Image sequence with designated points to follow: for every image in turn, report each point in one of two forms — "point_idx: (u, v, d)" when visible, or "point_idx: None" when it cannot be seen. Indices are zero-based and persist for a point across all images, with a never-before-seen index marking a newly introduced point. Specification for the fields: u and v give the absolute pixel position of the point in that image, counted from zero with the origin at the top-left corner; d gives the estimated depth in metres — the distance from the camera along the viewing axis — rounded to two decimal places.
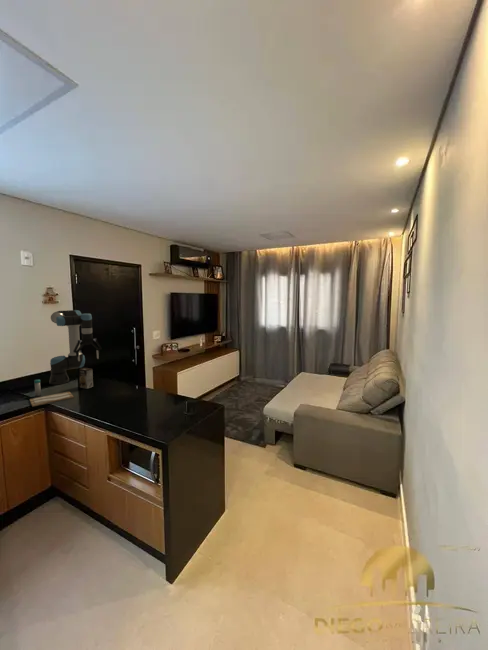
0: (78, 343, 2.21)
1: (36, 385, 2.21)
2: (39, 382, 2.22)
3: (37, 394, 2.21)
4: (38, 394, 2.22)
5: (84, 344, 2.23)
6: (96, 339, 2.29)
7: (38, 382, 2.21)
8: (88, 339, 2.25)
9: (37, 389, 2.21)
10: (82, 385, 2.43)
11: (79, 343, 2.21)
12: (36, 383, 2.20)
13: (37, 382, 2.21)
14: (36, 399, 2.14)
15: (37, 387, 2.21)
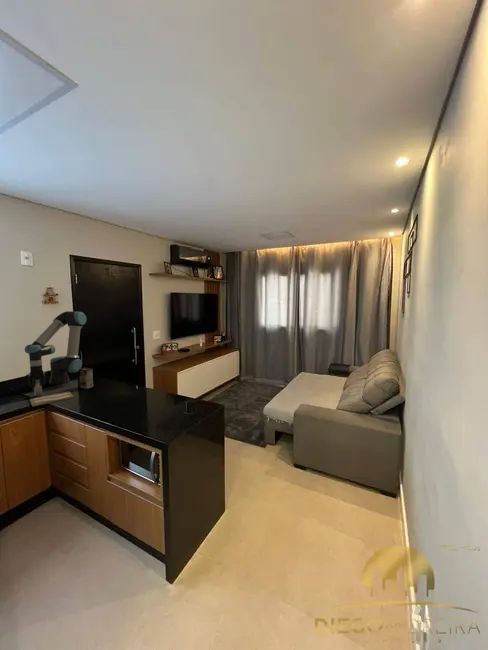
0: (28, 378, 2.17)
1: (36, 385, 2.21)
2: (39, 382, 2.22)
3: (37, 394, 2.21)
4: (38, 394, 2.22)
5: (34, 377, 2.19)
6: (46, 373, 2.24)
7: (38, 382, 2.21)
8: (37, 371, 2.20)
9: (37, 389, 2.21)
10: (82, 385, 2.43)
11: (29, 377, 2.17)
12: (36, 383, 2.20)
13: (37, 382, 2.21)
14: (36, 399, 2.14)
15: (37, 387, 2.21)
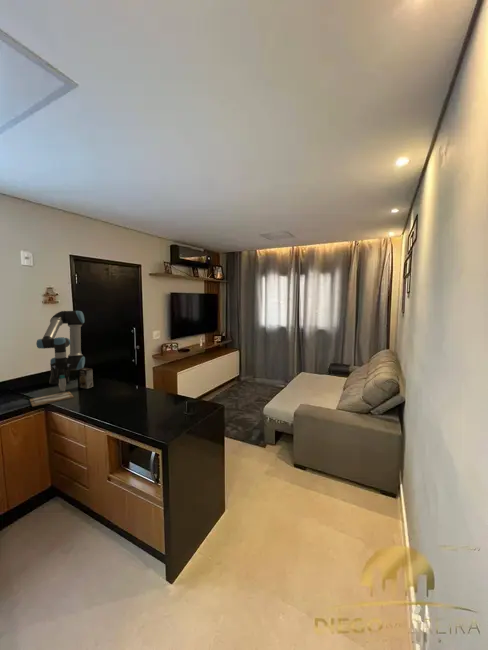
0: (53, 369, 2.19)
1: (61, 380, 2.23)
2: (64, 377, 2.24)
3: (62, 389, 2.23)
4: (63, 389, 2.24)
5: (59, 369, 2.21)
6: (70, 365, 2.26)
7: (62, 378, 2.23)
8: (62, 363, 2.22)
9: (62, 384, 2.23)
10: (82, 385, 2.43)
11: (54, 369, 2.19)
12: (61, 378, 2.22)
13: (62, 377, 2.23)
14: (36, 399, 2.14)
15: (62, 382, 2.23)
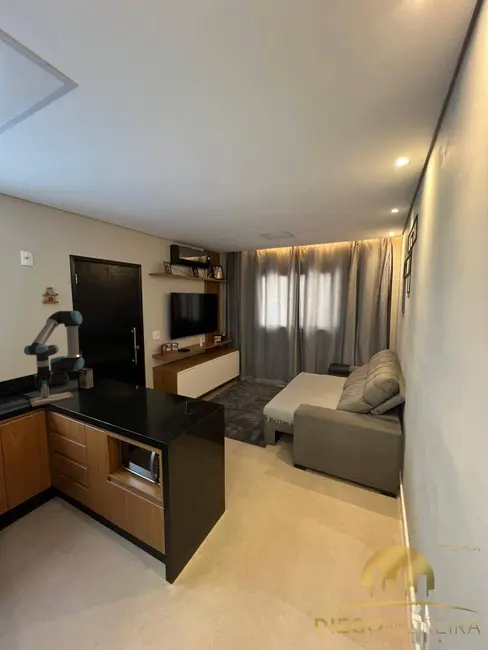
0: (35, 378, 2.12)
1: (43, 386, 2.15)
2: (46, 383, 2.16)
3: (44, 395, 2.16)
4: (45, 395, 2.16)
5: (41, 378, 2.14)
6: (53, 373, 2.19)
7: (45, 383, 2.15)
8: (44, 372, 2.15)
9: (44, 390, 2.16)
10: (82, 385, 2.43)
11: (36, 378, 2.12)
12: (43, 384, 2.15)
13: (44, 383, 2.15)
14: (36, 399, 2.14)
15: (44, 388, 2.15)
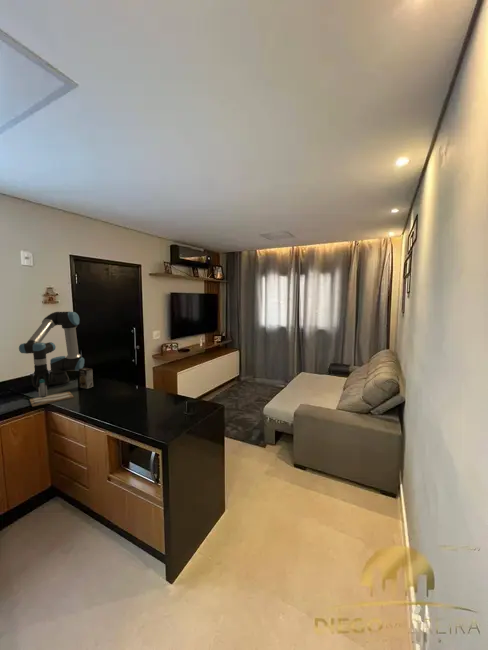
0: (32, 377, 2.04)
1: (41, 385, 2.08)
2: (44, 382, 2.09)
3: (42, 395, 2.09)
4: (43, 395, 2.09)
5: (39, 376, 2.06)
6: (51, 372, 2.11)
7: (42, 382, 2.08)
8: (42, 370, 2.07)
9: (42, 389, 2.08)
10: (82, 385, 2.43)
11: (33, 377, 2.04)
12: (41, 383, 2.07)
13: (42, 382, 2.08)
14: (36, 399, 2.14)
15: (42, 387, 2.08)
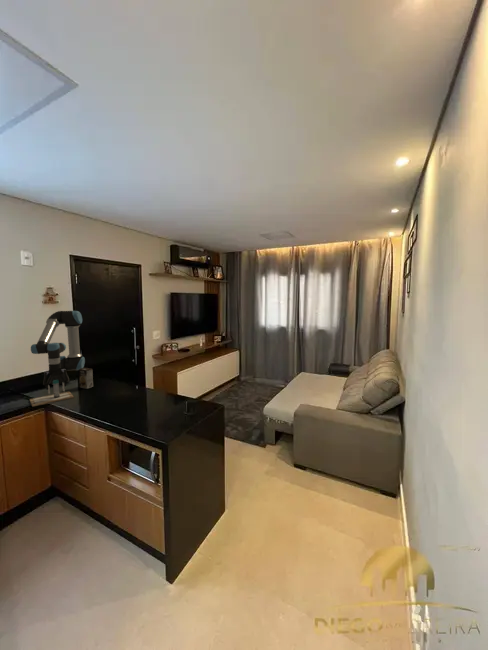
0: (45, 375, 2.12)
1: (55, 386, 2.16)
2: (58, 382, 2.17)
3: (56, 395, 2.17)
4: (57, 395, 2.17)
5: (52, 375, 2.14)
6: (64, 370, 2.20)
7: (56, 383, 2.16)
8: (56, 369, 2.16)
9: (56, 390, 2.17)
10: (82, 385, 2.43)
11: (46, 375, 2.12)
12: (55, 383, 2.16)
13: (56, 382, 2.16)
14: (36, 399, 2.14)
15: (56, 388, 2.16)
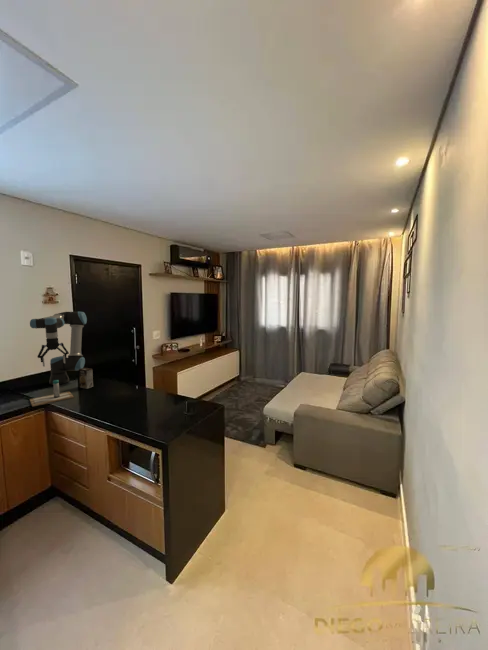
0: (42, 348, 2.14)
1: (55, 386, 2.16)
2: (58, 383, 2.17)
3: (56, 395, 2.17)
4: (57, 395, 2.17)
5: (49, 349, 2.16)
6: (62, 343, 2.22)
7: (56, 383, 2.16)
8: (53, 344, 2.18)
9: (56, 390, 2.16)
10: (82, 385, 2.43)
11: (43, 348, 2.14)
12: (55, 384, 2.16)
13: (56, 383, 2.16)
14: (36, 399, 2.14)
15: (56, 388, 2.16)
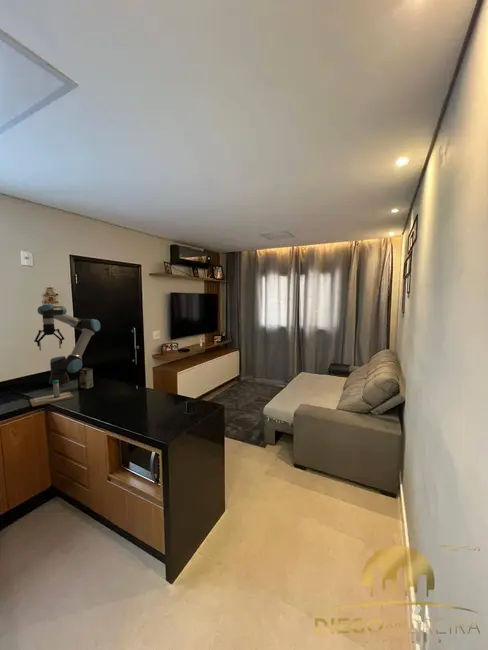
0: (39, 333, 2.26)
1: (55, 386, 2.16)
2: (58, 383, 2.17)
3: (56, 395, 2.17)
4: (57, 395, 2.17)
5: (45, 334, 2.28)
6: (58, 329, 2.34)
7: (56, 383, 2.16)
8: (50, 329, 2.30)
9: (56, 390, 2.16)
10: (82, 385, 2.43)
11: (40, 333, 2.26)
12: (55, 384, 2.16)
13: (56, 383, 2.16)
14: (36, 399, 2.14)
15: (56, 388, 2.16)
